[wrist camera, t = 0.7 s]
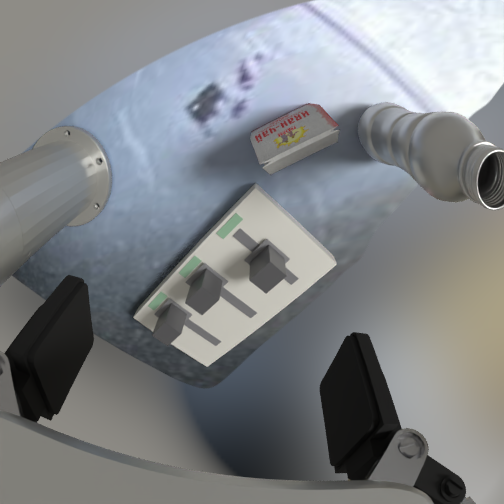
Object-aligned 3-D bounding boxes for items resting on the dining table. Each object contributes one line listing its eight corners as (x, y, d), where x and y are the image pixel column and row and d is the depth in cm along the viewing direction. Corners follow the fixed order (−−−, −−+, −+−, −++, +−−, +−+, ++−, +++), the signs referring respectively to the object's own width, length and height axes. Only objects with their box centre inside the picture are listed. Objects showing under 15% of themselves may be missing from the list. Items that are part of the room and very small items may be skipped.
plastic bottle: (382, 171, 33) (487, 254, 16) (339, 130, 31) (434, 179, 14) (416, 131, 31) (543, 183, 13) (376, 88, 29) (499, 98, 11)
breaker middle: (209, 299, 39) (204, 319, 35) (185, 281, 38) (178, 301, 34) (228, 281, 38) (225, 301, 34) (204, 262, 36) (198, 281, 33)
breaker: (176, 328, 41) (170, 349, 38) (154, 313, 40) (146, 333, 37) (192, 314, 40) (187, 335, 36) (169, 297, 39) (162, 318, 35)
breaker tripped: (267, 278, 37) (268, 298, 34) (244, 259, 36) (242, 278, 33) (289, 258, 36) (293, 277, 32) (266, 238, 35) (267, 256, 31)
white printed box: (324, 133, 32) (350, 149, 23) (268, 161, 33) (272, 187, 24) (308, 103, 30) (329, 106, 21) (251, 132, 32) (249, 146, 23)
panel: (208, 357, 47) (207, 367, 45) (137, 308, 43) (132, 318, 41) (333, 255, 38) (337, 264, 37) (255, 182, 34) (255, 188, 33)
